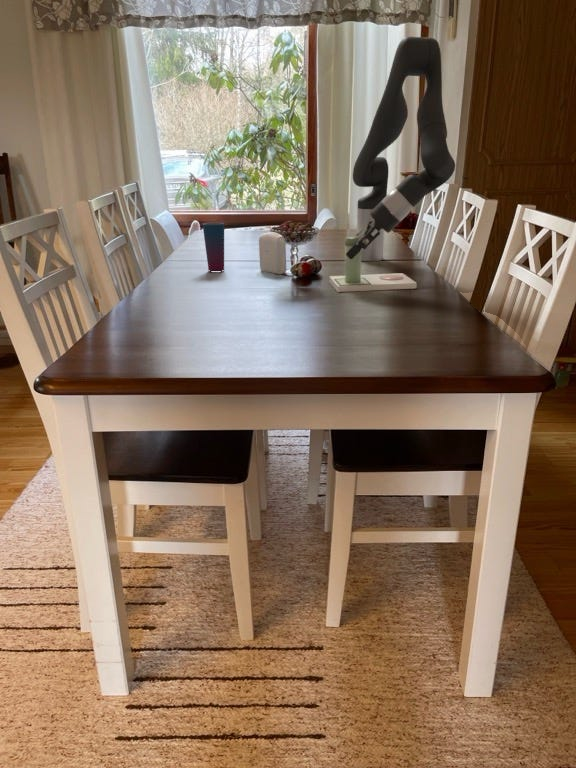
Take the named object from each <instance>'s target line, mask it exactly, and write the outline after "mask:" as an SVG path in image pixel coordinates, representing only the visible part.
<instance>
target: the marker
mask: <svg viewBox="0 0 576 768" xmlns="http://www.w3.org/2000/svg"><path fill="white" fill-rule="evenodd" d="M344 238H345V239H344V242H345V243H344V244H345V245H344V276H345V282H347V283H359V282H361V275H362V270H361V269H362V261H361V251H360V252H359V253H358V254H357V255H356V256H355V257H354V258H353V259H350V258H349V257H348V256H347V255H346V253H347V252H348V251H349V250H350V249H351V248H352V247H353V246H354V245H355V244H356V242H357V241H358V240H359V237H356V236H346V237H344Z"/></svg>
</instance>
